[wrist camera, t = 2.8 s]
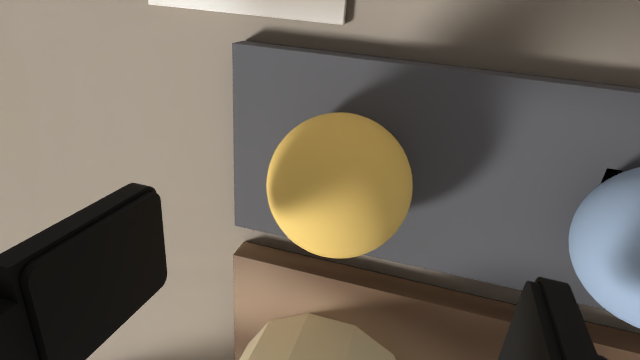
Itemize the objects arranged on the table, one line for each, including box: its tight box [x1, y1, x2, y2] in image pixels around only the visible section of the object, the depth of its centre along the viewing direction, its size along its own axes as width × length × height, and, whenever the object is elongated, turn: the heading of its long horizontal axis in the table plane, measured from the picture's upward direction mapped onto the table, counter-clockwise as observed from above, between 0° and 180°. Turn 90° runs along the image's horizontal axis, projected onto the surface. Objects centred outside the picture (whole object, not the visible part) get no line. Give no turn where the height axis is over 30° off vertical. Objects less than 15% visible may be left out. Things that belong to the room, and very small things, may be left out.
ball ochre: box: [266, 112, 413, 258], centre depth 14 cm, size 5×5×5 cm
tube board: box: [148, 0, 640, 360], centre depth 17 cm, size 30×24×1 cm
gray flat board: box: [232, 41, 640, 310], centre depth 15 cm, size 8×20×1 cm, turn 85°
